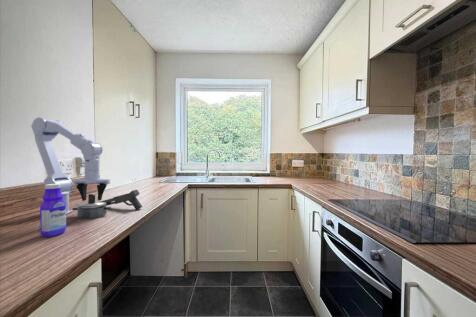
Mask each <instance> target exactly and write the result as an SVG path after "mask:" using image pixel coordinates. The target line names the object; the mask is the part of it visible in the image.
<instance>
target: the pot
mask: <svg viewBox="0 0 476 317" xmlns="http://www.w3.org/2000/svg"><path fill="white" fill-rule="evenodd" d="M111 209H112V207H111V206H106V205H105V206H102V207H100V208H95V209H81V207H72V209H71V210H73V211H77V212H76V213H77V216H76V217H77V219H81V220H90V219H91V220H93V219H98V218H102V217H104V216H107V210H111Z"/></svg>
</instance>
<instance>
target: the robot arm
mask: <svg viewBox="0 0 476 317" xmlns="http://www.w3.org/2000/svg"><path fill="white" fill-rule="evenodd" d="M30 126H31V129H32V133H33V135H34V141H35V143H36V147H37V148H38V151H39V155H40V158H41V160H42V162H43V163H42V164H43V165H44V168H45V171H46V174H47V176H46V178H45V179H44V180H43V183H44V186H45V185H47V184H60V190H61V193H62V195H63V198H62V199H63V200H64V202H65V204H66V215H67V214H70V213H72V212H74V210H72V209H71V210H70V194H71V191H72V190H73V188H74V185H76V186H75V188H76V189H77V190H78V192H79V194H80V196H81V200H82V202H85V201H87V189H88V186H89V185H96V187H97V188H96V189H97V202H100V201H103V194H104V192H105V190H106V188H107V186H108V185H110V184H111V179H102V178H100V156H101V155H102V154H103V147H102V145H101V144H100V143H99V142H93V140H92V139H89V138H87V137H85V136H86V135H85V134H84V133H75V132H74V131H72V130H71V129H70V128H69V127H67V126H66V125H64V122H61V121H60V120H59V119H49V118H43V117H36V118H34V120H33V121H32V124H31V125H30ZM58 135H62V136H63V137H65V138H66V139H68V140H69V142H70V144H71V145H72V146H74V147H76V148H77V149H79V150H80V152H81V154H82V155H83V159H84V179H73V180H72V179H70V177H69V175H68V174H66V173H65V172H63V170H62V168H61V165H60V162H59V159H58V156H57V154H56V151H55V148H54V146H53V142H52V140H54V139H55V138H56V137H57V136H58ZM42 202H43V199H42ZM42 202H41V203H42Z"/></svg>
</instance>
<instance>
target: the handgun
mask: <svg viewBox="0 0 476 317" xmlns="http://www.w3.org/2000/svg"><path fill="white" fill-rule="evenodd" d="M139 195H140V192H139V190H138V189H134V190H131V191H130V192H129V193H128V192H127V193H125V194H121V195H116V196H113V197H112V198H107V199H105V200H104V199H103V200H100V201H99V202H106V207H109V206H112V205H116V204H117V205H118V204H121V203H123V204H125V205H126V206H133V208H134V209H135V210H136V211H138V210H140V209H141V208H142V207H143V205H142V203H141V202H140V201H139V200H138V197H137V196H139Z"/></svg>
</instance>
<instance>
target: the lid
mask: <svg viewBox="0 0 476 317" xmlns="http://www.w3.org/2000/svg"><path fill="white" fill-rule="evenodd" d="M87 196H88V199H87V202H80V203H79V202H78V203H75V208H77V207H81V209H95V208H100V207H102V206H105V205H106V202H100V201H96V193H88V195H87Z"/></svg>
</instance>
